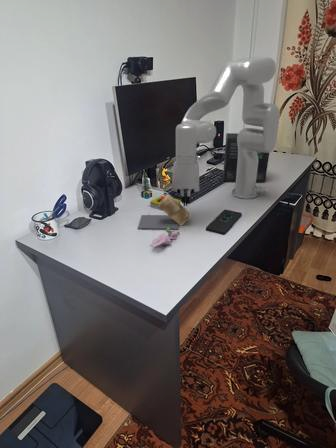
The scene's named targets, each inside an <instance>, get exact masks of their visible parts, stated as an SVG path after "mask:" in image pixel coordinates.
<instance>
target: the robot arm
mask: <svg viewBox="0 0 336 448" xmlns="http://www.w3.org/2000/svg"><path fill="white" fill-rule="evenodd" d="M276 70H277V66H276V62H275V60H274V59H273V58H271V57H270V56H269V57H243V58H239V59H236V60H235V59H234V60H229V61H226V62H225V63H224V64H223V66H222V67H221V68H220V70H219V72H218V74H217V76H216V77H215V80H214V81H213V84H212V85H211V87H210V89H209V90H208V92H207V93H206V94H205V95H203V96H202V97H200V98H199V99H198V100H197V101H196V102H194V103H193V104H192V105H191V106H190V107H189V108H188V110H187V111H186V113H185V115H184V116H183V118H182V121H181V123H179V124H177V125H176V127H175V161H174V162H173V167H172V177H171V178H172V187H171V191H173V192H176V193H178V195H180V196H181V204H183V206H184V207H188V204H190V197H191V195H192V194H193V193H196V192H200V166H199V161H198V160H201V155H198V154H197V145H198V144H207V143H210V142H212V141H213V140H214V139H215V137H216V136H217V128H216V126H215V124H214V123H212V122H209V121H205V120H201V119H202V118H204V116H206V115H208V114H210V113H213V112H216V111H218V110H221V109H224V108H225V107H226V106H228V105H229V103H230V101H231V99H232V97H233V95H234V93H236V92H235V91H236V89H237V88H238V87H239V86H241V88H242V92H243V93H242V94H243V98H242V113H241V114H242V115H241V117H242V122H243V123H244V124H245V125H248V126H253V127H261V128H262V129H261V128H253V127H246V128H242V129H241V130H240V131H239V132H238V136H237V145H238V162H237V173H236V182H235V186H234V187H235V188H234V189H232V190H231V195H232V196H233V197H235V198H237V199H242V200H243V199H245V200H249V199H250V200H251V199H255V198H257V197H258V195H259V193H260V192H261V193H265V192H266V187H262V186H257V185H256V184H257V183H256V178H257V169H258V155H257V152H263V153H269V154H270V153H272V152H273V151H274V150H275V148H276V146H277V142H278V141H277V140H278V134H279V125H280V118H281V116H280V115H281V113H280V109H279V106H278V105H277V104H275V103H270V102H269V103H268V102H265V101H264V100H265V88H264V87H265V86H264V84H265V83H269V82H270V81H271V80H273V78H274V76H275V73H276ZM256 151H257V152H256ZM185 190H187V191H186V193H185Z"/></svg>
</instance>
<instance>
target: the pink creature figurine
mask: <svg viewBox="0 0 336 448" xmlns="http://www.w3.org/2000/svg"><path fill="white" fill-rule="evenodd" d="M169 228H170V227H168V228H167V229H166V230H165V233H167V234H165V233H162V234H161V235H160V234H159V236H158V237H156V238H155V237H154V239H152V242H151V246H155V247H158V246H160V245H168V244H171V242H172V240H176V239H178V236H180V234H181V233H180V231H177V232H176V231H175V230H169Z"/></svg>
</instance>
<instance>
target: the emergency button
mask: <svg viewBox="0 0 336 448" xmlns="http://www.w3.org/2000/svg"><path fill="white" fill-rule="evenodd" d="M165 196H166V195H160V196H157V197H155V198H153V199H152V200H150V201H149V202H150V203H149V204H148V205H147V207H148V208H152V209H156V210H159V211H163V210H162V209H161V208H159V204H160V201H161V200H162V199H163V198H164V197H165ZM174 199H175V200H176V201H177V202H178V203H180V204H181V205H182V202H181V199H177V198H174ZM182 206H183V207H184V208H185V206H184V205H182ZM163 212H164V211H163Z"/></svg>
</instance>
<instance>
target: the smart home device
mask: <svg viewBox="0 0 336 448" xmlns="http://www.w3.org/2000/svg"><path fill="white" fill-rule="evenodd" d="M242 214H243V213H242V212H240V211H235V210H230V209H223V210H222V211H221V212H220V213H219V214H218V215H217V216H216V217H215V218H214V219H213V220H212V221H211V222H210V223H209V224H208V225H207V226H206V227H205V231H206V232H209V233H210V232H211V233H214V234H218V235H222V236H225V235H226V234H227V233H228V232H229V231H230V230H231V229H232V228H233V226H234V225H236V223H237V222H238V220H240V218H241V217H242Z"/></svg>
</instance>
